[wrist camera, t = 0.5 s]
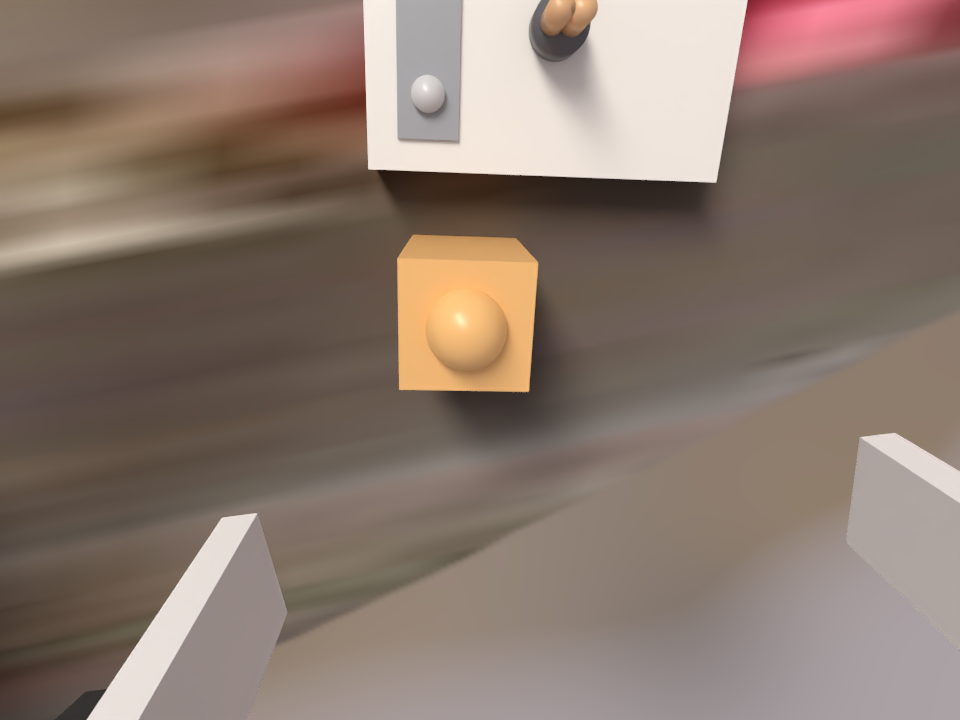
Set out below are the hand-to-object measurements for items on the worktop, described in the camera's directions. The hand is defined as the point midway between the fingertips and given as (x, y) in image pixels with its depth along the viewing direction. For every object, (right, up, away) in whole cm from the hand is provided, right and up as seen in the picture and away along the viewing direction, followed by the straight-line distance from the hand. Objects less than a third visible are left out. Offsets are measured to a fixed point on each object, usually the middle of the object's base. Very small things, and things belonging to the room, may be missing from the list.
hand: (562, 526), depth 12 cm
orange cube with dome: (-3, +8, +21) cm, 22 cm away
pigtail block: (+2, +20, +16) cm, 26 cm away
